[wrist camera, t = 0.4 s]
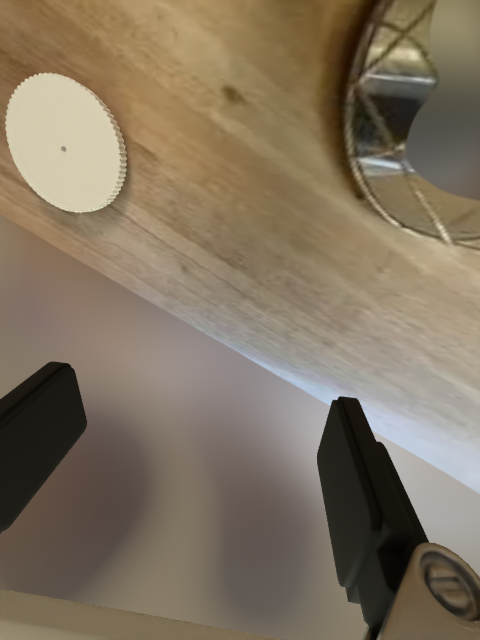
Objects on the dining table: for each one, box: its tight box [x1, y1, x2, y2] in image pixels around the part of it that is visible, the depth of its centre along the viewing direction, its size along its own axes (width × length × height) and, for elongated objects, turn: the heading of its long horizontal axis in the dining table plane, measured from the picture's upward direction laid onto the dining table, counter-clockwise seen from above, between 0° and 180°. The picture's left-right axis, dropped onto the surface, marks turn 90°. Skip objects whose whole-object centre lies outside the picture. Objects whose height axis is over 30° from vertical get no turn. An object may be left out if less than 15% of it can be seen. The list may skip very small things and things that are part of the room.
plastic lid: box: [5, 73, 127, 212], centre depth 33 cm, size 14×14×2 cm
